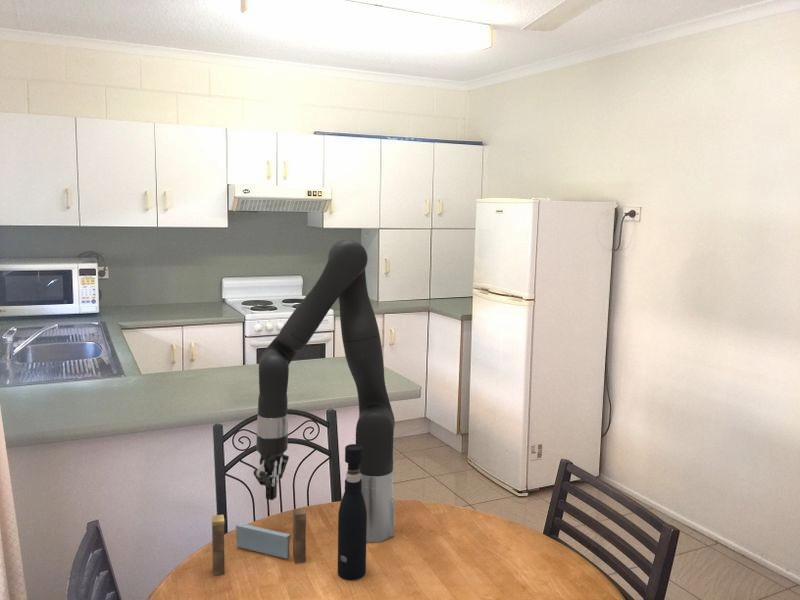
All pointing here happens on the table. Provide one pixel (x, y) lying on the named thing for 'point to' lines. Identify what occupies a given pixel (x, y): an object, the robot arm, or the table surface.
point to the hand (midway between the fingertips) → (271, 498)
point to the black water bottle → (352, 520)
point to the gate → (263, 540)
